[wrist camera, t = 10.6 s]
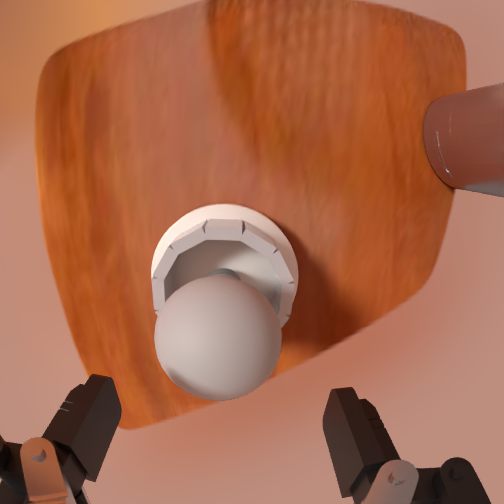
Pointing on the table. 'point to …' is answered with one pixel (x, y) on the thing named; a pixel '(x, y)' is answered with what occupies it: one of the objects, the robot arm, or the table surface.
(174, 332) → the lightbulb
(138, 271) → the table surface
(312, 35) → the table surface
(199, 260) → the lamp base
